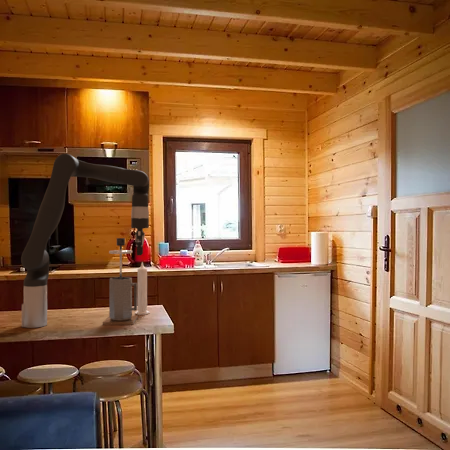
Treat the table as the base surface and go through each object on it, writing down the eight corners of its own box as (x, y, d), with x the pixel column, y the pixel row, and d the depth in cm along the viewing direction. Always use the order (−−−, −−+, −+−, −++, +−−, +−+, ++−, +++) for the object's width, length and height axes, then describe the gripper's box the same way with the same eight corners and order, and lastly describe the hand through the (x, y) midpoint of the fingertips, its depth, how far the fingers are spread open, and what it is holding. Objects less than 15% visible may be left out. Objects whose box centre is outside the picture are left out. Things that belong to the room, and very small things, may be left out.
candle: (135, 315, 208) (135, 262, 208) (134, 312, 215) (134, 261, 215) (150, 314, 210) (150, 262, 210) (148, 311, 216) (148, 261, 217)
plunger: (107, 293, 189) (106, 238, 189) (111, 289, 199) (111, 238, 199) (130, 292, 189) (130, 238, 189) (133, 289, 199) (133, 237, 199)
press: (102, 325, 187) (102, 280, 187) (109, 318, 200) (109, 276, 200) (134, 324, 188) (134, 280, 188) (138, 318, 201) (138, 276, 201)
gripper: (132, 217, 196) (132, 253, 196) (130, 216, 182) (129, 255, 182) (149, 217, 197) (148, 253, 197) (148, 217, 183) (148, 255, 183)
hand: (139, 254), depth 189 cm, fingers open, 8 cm apart
